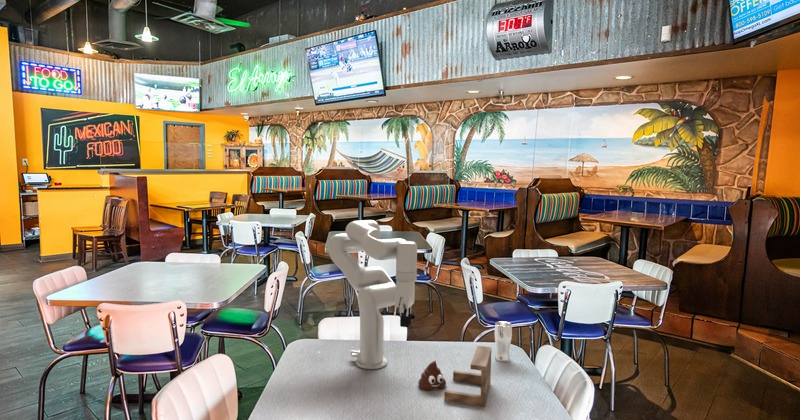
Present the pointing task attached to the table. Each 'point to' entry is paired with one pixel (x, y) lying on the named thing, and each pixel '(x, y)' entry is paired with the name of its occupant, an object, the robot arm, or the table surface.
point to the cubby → (474, 379)
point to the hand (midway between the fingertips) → (405, 325)
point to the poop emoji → (432, 378)
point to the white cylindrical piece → (503, 340)
